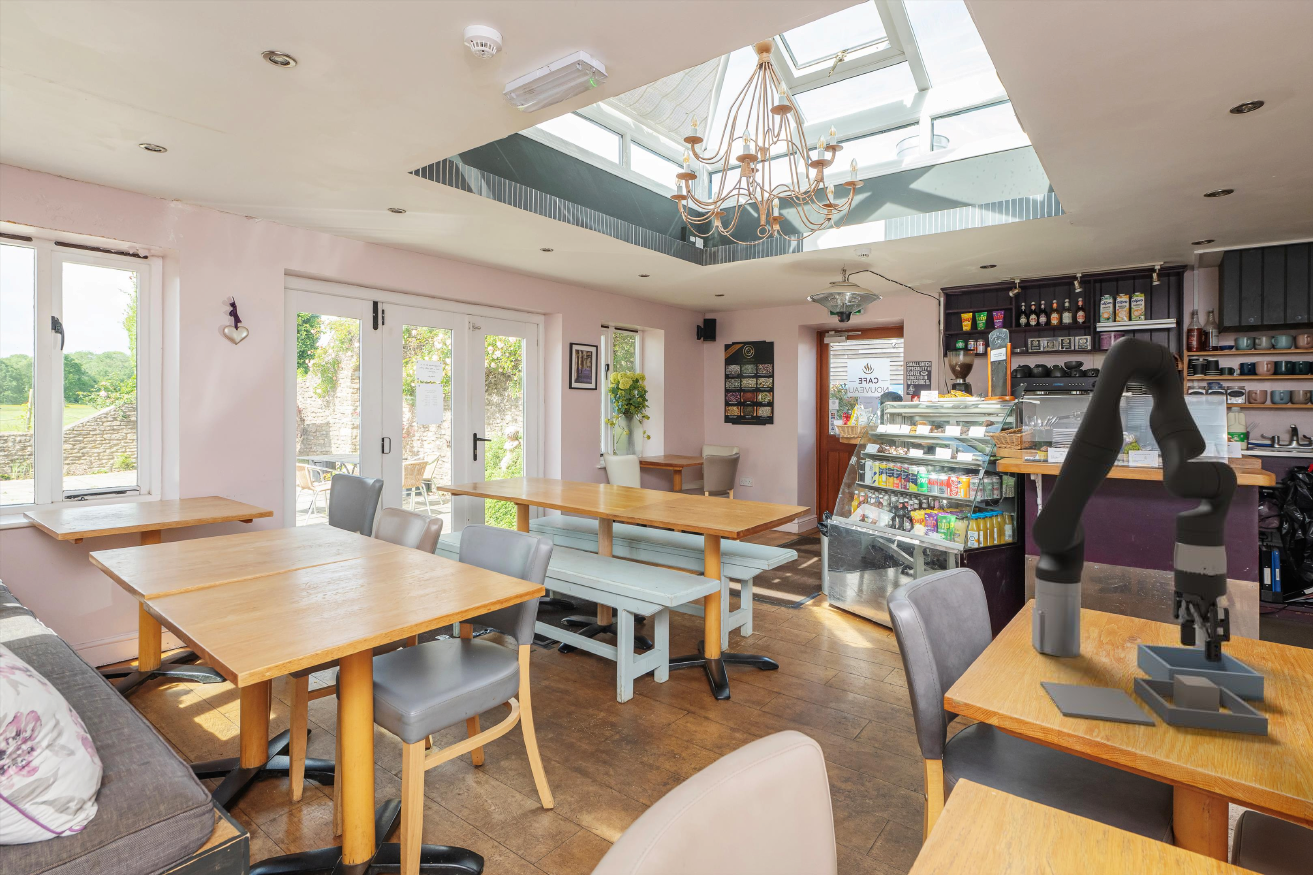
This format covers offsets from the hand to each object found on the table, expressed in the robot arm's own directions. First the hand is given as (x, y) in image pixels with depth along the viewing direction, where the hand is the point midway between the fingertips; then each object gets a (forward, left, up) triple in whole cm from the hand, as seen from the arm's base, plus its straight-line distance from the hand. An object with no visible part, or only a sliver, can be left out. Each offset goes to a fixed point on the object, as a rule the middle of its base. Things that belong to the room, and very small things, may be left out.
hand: (1200, 653), depth 120 cm
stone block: (-1, 0, -11) cm, 11 cm away
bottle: (+18, +39, -11) cm, 44 cm away
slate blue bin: (+6, +16, -11) cm, 20 cm away
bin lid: (-18, -1, -11) cm, 21 cm away
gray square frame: (-1, 0, -11) cm, 11 cm away
